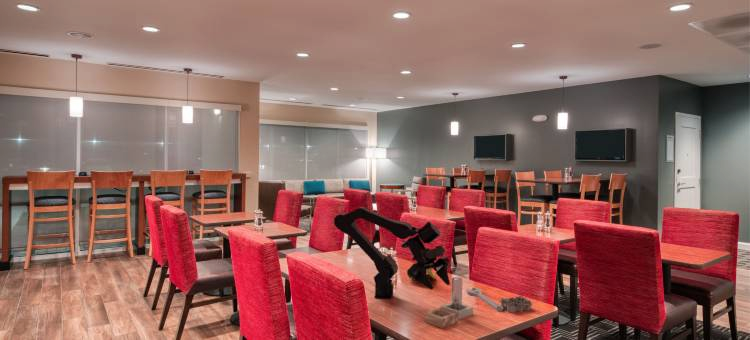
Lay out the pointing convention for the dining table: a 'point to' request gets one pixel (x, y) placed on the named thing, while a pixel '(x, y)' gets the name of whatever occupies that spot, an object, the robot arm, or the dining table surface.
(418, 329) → the dining table surface
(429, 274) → the plastic component
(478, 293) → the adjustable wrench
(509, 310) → the grey jagged open ring
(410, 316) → the dining table surface
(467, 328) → the dining table surface
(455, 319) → the beige square ring
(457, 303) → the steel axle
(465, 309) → the square hollow frame
